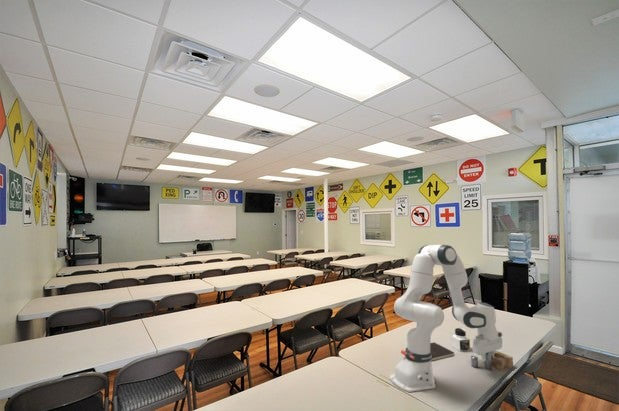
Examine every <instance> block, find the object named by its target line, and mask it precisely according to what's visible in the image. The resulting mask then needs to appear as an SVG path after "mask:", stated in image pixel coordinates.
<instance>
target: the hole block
mask: <svg viewBox="0 0 619 411" xmlns="http://www.w3.org/2000/svg"><path fill="white" fill-rule="evenodd" d="M513 359H514V358H513V356H510V355H507V354H505V353H503V352H500V351H498V350H495V354H494V359H492V368H495V369H497V370H499V371H501V372H503V371H506V370H509V369H511V368H514V360H513ZM482 361H483V360H482ZM483 364H485V361H483Z"/></svg>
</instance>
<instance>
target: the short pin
mask: <svg viewBox="0 0 619 411" xmlns="http://www.w3.org/2000/svg"><path fill="white" fill-rule="evenodd" d="M470 359H471V360H470V363H471V365H470V366H471V367H472V368H474V369H478V368H479V358H478V356H476V355H471V356H470Z"/></svg>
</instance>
